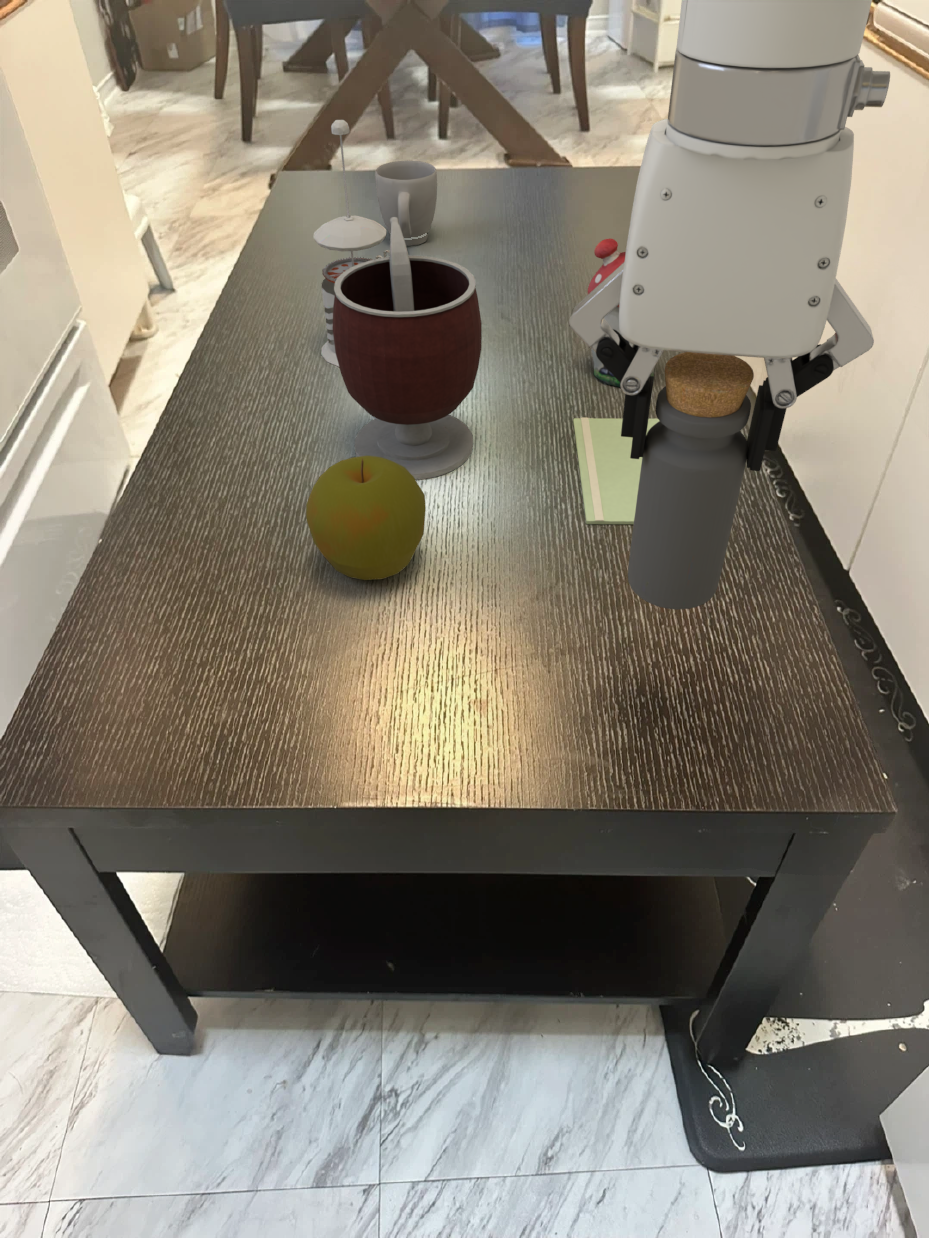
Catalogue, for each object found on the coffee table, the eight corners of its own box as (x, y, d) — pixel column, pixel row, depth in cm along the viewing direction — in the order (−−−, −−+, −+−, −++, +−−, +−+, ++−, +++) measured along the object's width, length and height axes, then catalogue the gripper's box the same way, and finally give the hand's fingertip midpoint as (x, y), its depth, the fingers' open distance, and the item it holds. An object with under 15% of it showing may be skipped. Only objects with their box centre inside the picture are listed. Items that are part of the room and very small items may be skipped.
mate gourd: (491, 477, 88) (494, 277, 74) (351, 490, 86) (327, 289, 72) (467, 398, 99) (465, 211, 85) (342, 409, 97) (320, 221, 83)
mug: (382, 228, 136) (377, 160, 129) (439, 228, 136) (438, 160, 129) (375, 259, 127) (369, 188, 120) (436, 259, 127) (434, 188, 120)
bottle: (617, 598, 57) (642, 386, 46) (638, 544, 61) (667, 338, 50) (708, 620, 55) (756, 404, 45) (725, 563, 59) (772, 353, 49)
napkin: (716, 525, 82) (717, 520, 81) (586, 524, 82) (586, 520, 82) (685, 421, 95) (686, 417, 94) (572, 421, 95) (573, 417, 95)
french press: (350, 324, 112) (327, 102, 95) (429, 344, 108) (420, 116, 91) (304, 357, 106) (270, 126, 89) (386, 379, 102) (368, 142, 85)
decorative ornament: (571, 373, 102) (582, 242, 92) (600, 352, 106) (613, 223, 96) (643, 397, 98) (663, 262, 88) (670, 373, 102) (692, 241, 92)
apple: (423, 525, 82) (418, 421, 75) (433, 594, 75) (428, 487, 68) (315, 533, 81) (298, 430, 74) (315, 604, 74) (296, 498, 67)
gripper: (953, 83, 40) (846, 432, 52) (572, 74, 43) (556, 406, 55) (986, 130, 35) (857, 506, 47) (548, 116, 38) (536, 473, 50)
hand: (695, 449), depth 51 cm, fingers closed on bottle, 5 cm apart
